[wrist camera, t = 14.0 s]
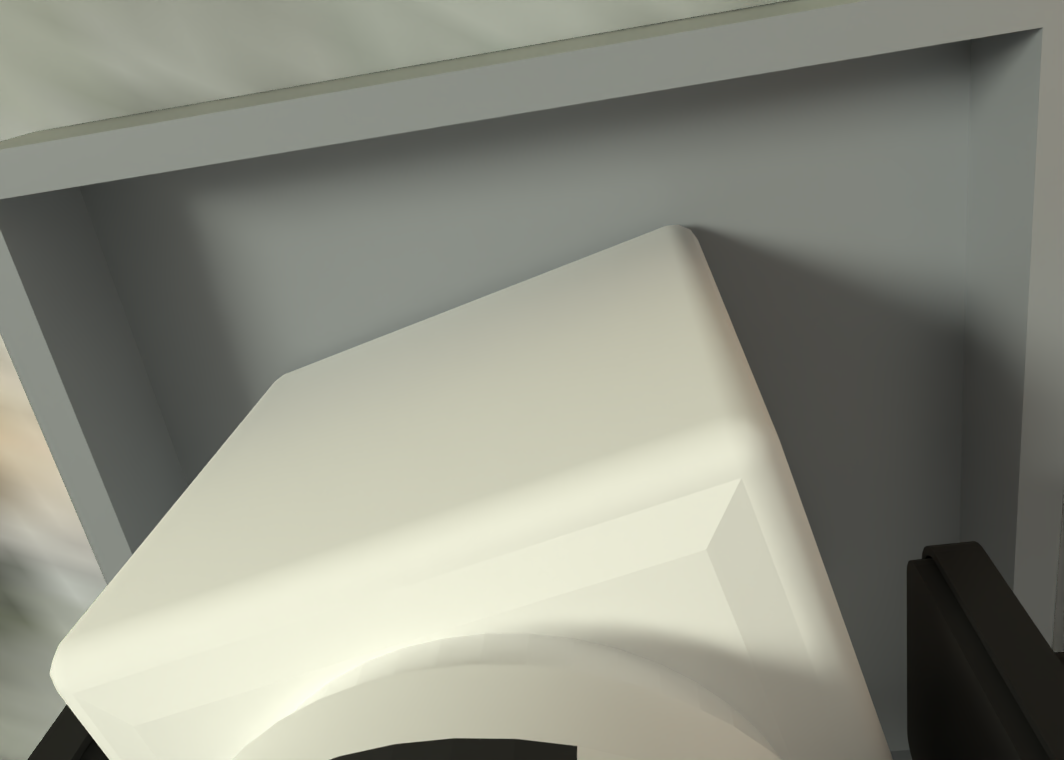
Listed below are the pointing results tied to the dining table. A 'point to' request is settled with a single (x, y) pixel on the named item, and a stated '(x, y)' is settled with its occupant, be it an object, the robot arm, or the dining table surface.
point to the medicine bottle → (491, 552)
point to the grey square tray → (587, 228)
